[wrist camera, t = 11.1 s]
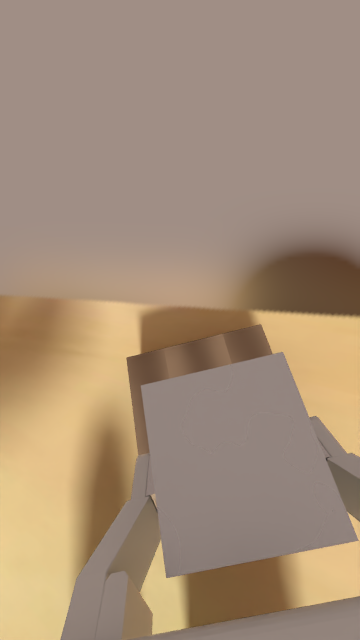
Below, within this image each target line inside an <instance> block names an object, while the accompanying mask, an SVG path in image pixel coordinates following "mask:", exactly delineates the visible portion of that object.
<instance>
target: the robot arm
mask: <svg viewBox="0 0 360 640" xmlns="http://www.w3.org/2000/svg"><path fill="white" fill-rule="evenodd" d="M309 418H310V421H311V423H312V426H313V428H314V431H315V433H316V436H317V438H318V441H319V443H320V446H321V448H322V451H323V453H324V456H325V458H326V461H327V463H328V466H329V468H330V471H331V473H332V476H333V478H334V481H335V483H336V486H337V488H338V491H339V493H340V496H341V498H342V501H343V503H344V506H345V508H346V511H347V512H348V513H350V514H351V515H352V516H353V517H355V518H356V519H357V520H358V521H359V522H360V457H358V456H357V455H355V454H353V453H348V454H347V452H346V451H345V450H344V449H343V448H342V446H341V445H340V444H339V443H338V441H337V440H336V439H335V438H334V436H333V435H332V434H331V433H330V431H329V430H328V429H327V428H326V427H325V425H324V424H323V423H322V422H321V420H320V419H319V418H318V417H316V416H313V417H309ZM160 540H161V534H160V526H159V519H158V511H157V504H156V496H155V489H154V481H153V474H152V466H151V459H150V453H146V454H141V455H138V457H137V459H136V466H135V473H134V480H133V487H132V494H131V500H128V501H126V503H125V504H124V506H123V508H122V509H121V511H120V512H119V514H118V515H117V517H116V518H115V520H114V522H113V523H112V525H111V526H110V528H109V529H108V531H107V532H106V534H105V535H104V537H103V539H102V540H101V542H100V543H99V545H98V546H97V548H96V549H95V551H94V553H93V554H92V556H91V557H90V559H89V560H88V562H87V563H86V565H85V566H84V568H83V570H82V571H81V573H80V574H79V576H78V577H77V579H76V583H75V587H74V591H73V594H72V598H71V602H70V606H69V610H68V613H67V617H66V621H65V625H64V628H63V632H62V636H61V640H360V596H359V597H353V598H348V599H343V600H337V601H332V602H326V603H321V604H316V605H310V606H305V607H300V608H294V609H289V610H283V611H278V612H273V613H267V614H262V615H256V616H251V617H246V618H240V619H235V620H230V621H224V622H219V623H213V624H208V625H203V626H197V627H192V628H187V629H181V630H176V631H170V632H165V633H160V634H154V635H152V616H153V613H152V612H151V610H150V608H149V607H148V605H147V604H146V602H145V601H144V599H143V598H142V596H141V595H140V593H139V592H140V590H141V587H142V585H143V582H144V580H145V577H146V575H147V572H148V570H149V567H150V565H151V562H152V560H153V557H154V555H155V552H156V550H157V547H158V545H159V542H160Z"/></svg>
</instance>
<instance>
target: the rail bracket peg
mask: <svg viewBox="0 0 360 640" xmlns="http://www.w3.org/2000/svg"><path fill="white" fill-rule="evenodd" d="M141 391H142V399H143V406H144V414H145V421H146V429H147V436H148V444H149V451H150V459H151V466H152V474H153V481H154V489H155V496H156V504H157V511H158V519H159V526H160V534H161V541H162V549H163V556H164V564H165V571H166V578H170V577H175V576H180V575H185V574H190V573H195V572H200V571H205V570H211V569H216V568H221V567H226V566H231V565H236V564H241V563H246V562H252V561H257V560H262V559H267V558H272V557H277V556H282V555H287V554H293V553H298V552H303V551H308V550H313V549H318V548H323V547H328V546H334V545H339V544H344V543H349V542H354V541H358V538H357V536H356V533H355V531H354V528H353V526H352V523H351V521H350V518H349V516H348V513H347V511H346V508H345V506H344V503H343V501H342V498H341V496H340V493H339V491H338V488H337V486H336V483H335V481H334V478H333V476H332V473H331V471H330V468H329V466H328V463H327V461H326V458H325V456H324V453H323V451H322V448H321V446H320V443H319V441H318V438H317V436H316V433H315V431H314V428H313V426H312V423H311V421H310V418H309V416H308V413H307V411H306V408H305V406H304V403H303V401H302V398H301V396H300V393H299V391H298V388H297V386H296V384H295V381H294V379H293V376H292V374H291V371H290V369H289V366H288V364H287V361H286V359H285V356H284V354H283V352H281V353H276V354H272V355H268V356H264V357H259V358H255V359H251V360H247V361H242V362H238V363H234V364H230V365H225V366H221V367H217V368H213V369H209V370H204V371H200V372H196V373H192V374H187V375H183V376H179V377H175V378H170V379H166V380H162V381H158V382H153V383H149V384H145V385H141Z"/></svg>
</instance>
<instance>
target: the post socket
mask: <svg viewBox="0 0 360 640" xmlns="http://www.w3.org/2000/svg"><path fill="white" fill-rule="evenodd" d="M268 355H272V351H271V349H270V346H269V343H268V341H267V338H266V336H265V333H264V331H263V328H262V325H261V324H260V325H256V326H252V327H248V328H244V329H240V330H236V331H232V332H228V333H224V334H220V335H216V336H212V337H208V338H204V339H200V340H196V341H192V342H188V343H184V344H180V345H176V346H172V347H168V348H164V349H159V350H155V351H151V352H147V353H143V354H139V355H135V356H131V357H127V366H128V374H129V382H130V390H131V398H132V406H133V414H134V422H135V431H136V439H137V447H138V455H141V454H146V453H150V451H149V444H148V436H147V429H146V421H145V414H144V406H143V399H142V391H141V385H145V384H149V383H153V382H158V381H162V380H166V379H170V378H175V377H179V376H183V375H187V374H192V373H196V372H200V371H204V370H209V369H213V368H217V367H221V366H225V365H230V364H234V363H238V362H242V361H247V360H251V359H255V358H259V357H264V356H268Z"/></svg>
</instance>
